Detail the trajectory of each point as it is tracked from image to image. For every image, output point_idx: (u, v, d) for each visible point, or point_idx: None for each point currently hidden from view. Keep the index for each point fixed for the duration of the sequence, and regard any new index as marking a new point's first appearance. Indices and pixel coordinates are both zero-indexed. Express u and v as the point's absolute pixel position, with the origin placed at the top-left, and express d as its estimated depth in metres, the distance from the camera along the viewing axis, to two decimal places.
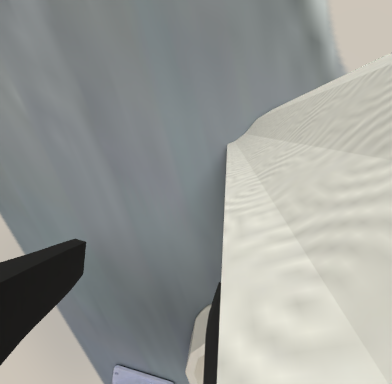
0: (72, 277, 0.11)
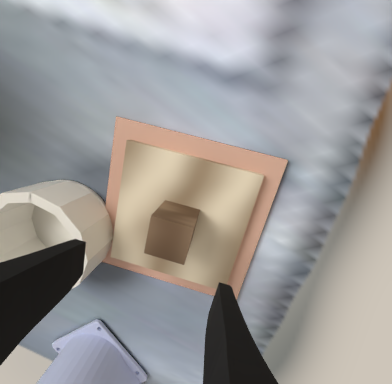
0: (72, 277, 0.11)
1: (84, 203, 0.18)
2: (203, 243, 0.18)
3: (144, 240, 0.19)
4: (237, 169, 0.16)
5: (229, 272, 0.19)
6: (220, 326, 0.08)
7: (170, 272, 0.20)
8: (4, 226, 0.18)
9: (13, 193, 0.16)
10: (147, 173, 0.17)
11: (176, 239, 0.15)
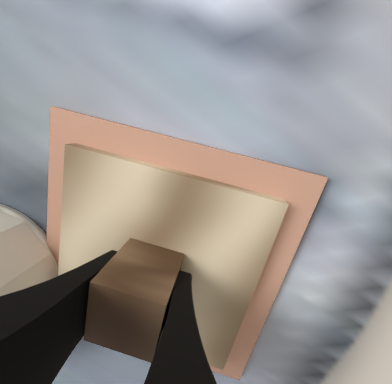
0: None
1: (3, 244, 0.11)
2: None
3: None
4: (244, 193, 0.10)
5: (230, 344, 0.12)
6: (168, 310, 0.08)
7: None
8: None
9: None
10: (100, 197, 0.11)
11: (136, 322, 0.08)
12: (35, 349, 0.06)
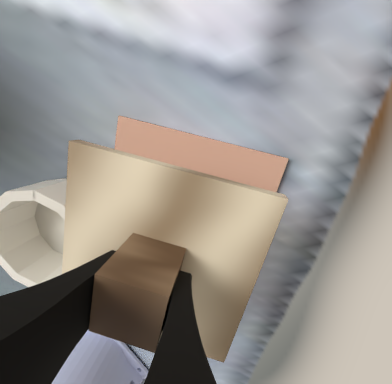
0: None
1: None
2: None
3: None
4: (244, 188, 0.10)
5: (230, 337, 0.13)
6: (168, 310, 0.08)
7: None
8: (8, 224, 0.18)
9: (17, 191, 0.16)
10: (104, 192, 0.11)
11: (140, 313, 0.08)
12: (35, 349, 0.06)
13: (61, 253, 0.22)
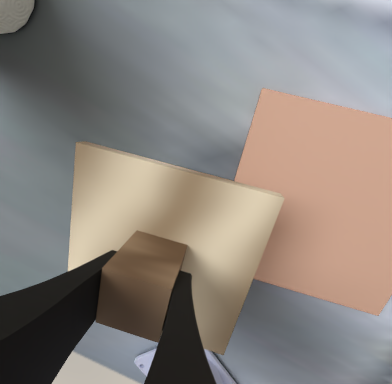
0: None
1: None
2: (193, 291, 0.13)
3: None
4: (243, 187, 0.11)
5: (230, 330, 0.13)
6: (168, 310, 0.08)
7: None
8: None
9: None
10: (109, 192, 0.12)
11: (144, 305, 0.09)
12: (35, 349, 0.06)
13: None
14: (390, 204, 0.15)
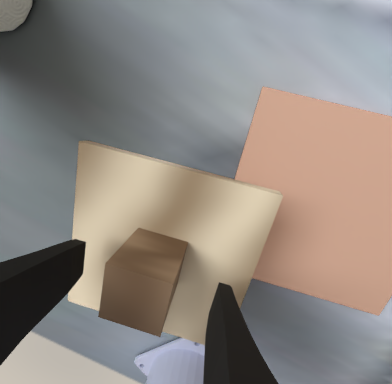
0: (72, 277, 0.11)
1: None
2: (193, 288, 0.13)
3: None
4: (242, 185, 0.11)
5: None
6: (220, 326, 0.08)
7: None
8: None
9: None
10: (111, 189, 0.12)
11: (146, 299, 0.09)
12: None
13: None
14: (391, 203, 0.15)
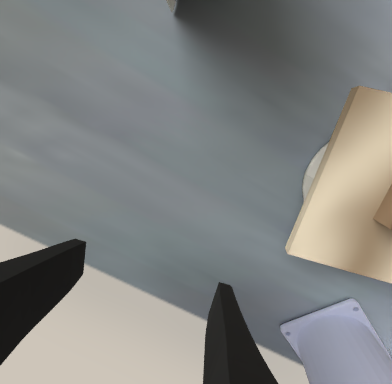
0: (72, 277, 0.11)
1: None
2: None
3: (346, 231, 0.14)
4: None
5: None
6: (220, 326, 0.08)
7: (375, 275, 0.15)
8: None
9: None
10: (379, 135, 0.12)
11: None
12: None
13: None
14: None
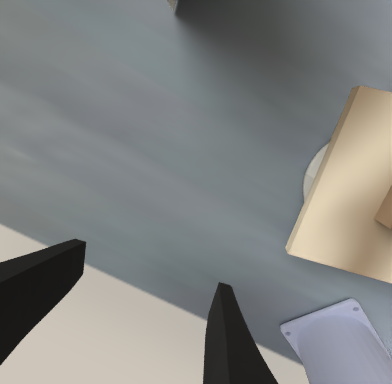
0: (72, 277, 0.11)
1: None
2: None
3: (347, 231, 0.14)
4: None
5: None
6: (220, 326, 0.08)
7: (375, 275, 0.15)
8: None
9: None
10: (380, 135, 0.12)
11: None
12: None
13: None
14: None
